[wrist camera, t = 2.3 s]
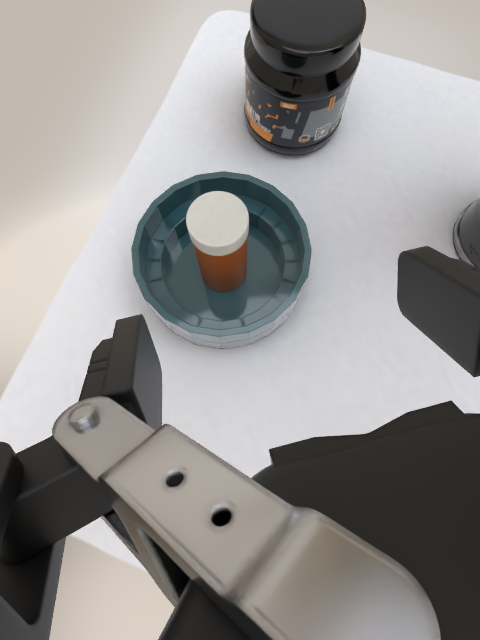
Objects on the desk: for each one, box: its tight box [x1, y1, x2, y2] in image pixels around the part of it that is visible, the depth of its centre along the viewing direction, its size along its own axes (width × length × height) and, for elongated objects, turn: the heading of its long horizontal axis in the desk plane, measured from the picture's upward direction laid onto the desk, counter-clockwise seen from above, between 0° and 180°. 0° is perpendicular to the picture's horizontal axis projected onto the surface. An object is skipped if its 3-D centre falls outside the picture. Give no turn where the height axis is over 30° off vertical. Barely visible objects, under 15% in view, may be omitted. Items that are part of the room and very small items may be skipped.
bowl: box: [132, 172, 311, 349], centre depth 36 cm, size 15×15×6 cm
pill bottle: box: [186, 191, 249, 292], centre depth 34 cm, size 5×5×10 cm
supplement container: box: [244, 0, 366, 154], centre depth 38 cm, size 10×10×12 cm
